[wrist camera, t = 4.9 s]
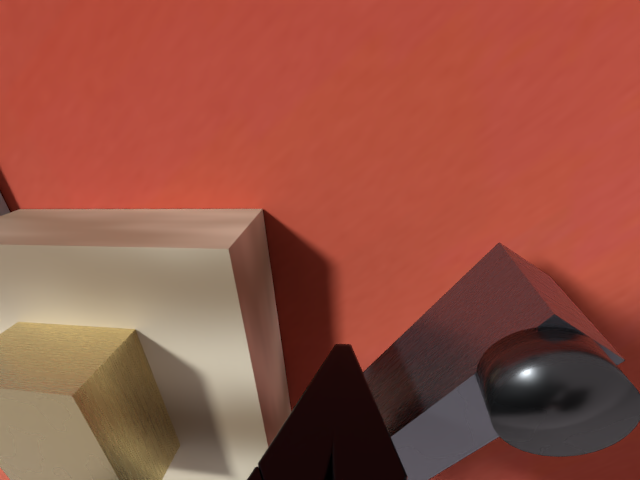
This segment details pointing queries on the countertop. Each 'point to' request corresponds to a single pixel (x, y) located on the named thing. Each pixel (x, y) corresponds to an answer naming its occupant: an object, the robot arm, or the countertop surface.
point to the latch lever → (501, 373)
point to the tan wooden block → (80, 405)
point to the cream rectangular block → (166, 314)
